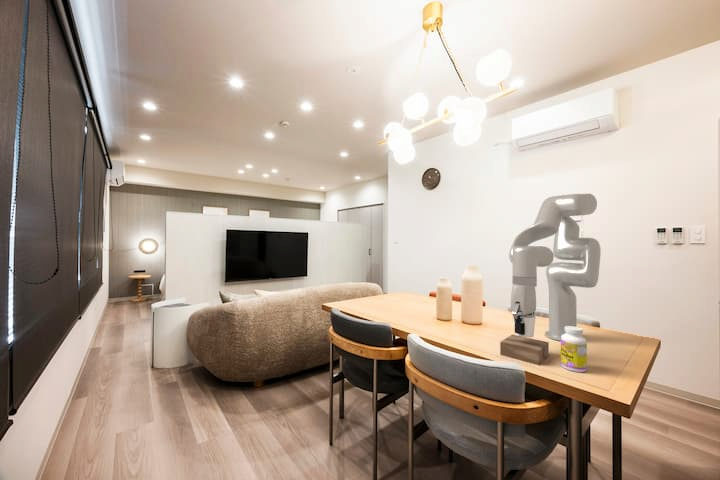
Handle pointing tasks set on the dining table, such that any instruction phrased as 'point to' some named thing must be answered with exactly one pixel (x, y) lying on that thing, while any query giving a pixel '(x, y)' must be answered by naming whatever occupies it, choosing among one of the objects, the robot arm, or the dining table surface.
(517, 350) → the walnut block
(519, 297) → the robot arm
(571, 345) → the supplement bottle
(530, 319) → the white cup
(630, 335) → the dining table surface
